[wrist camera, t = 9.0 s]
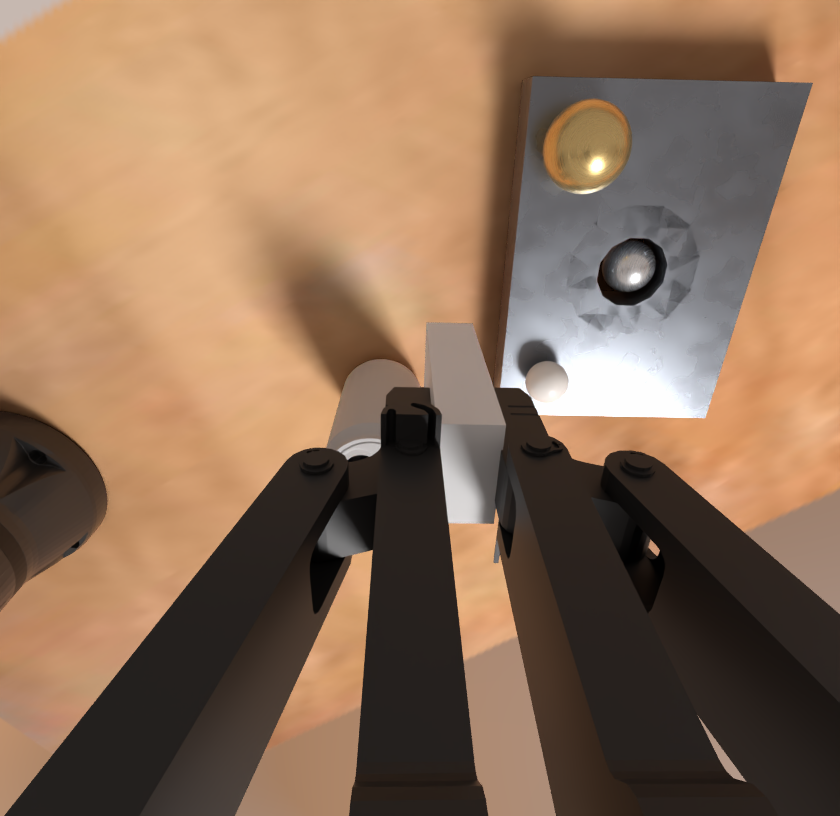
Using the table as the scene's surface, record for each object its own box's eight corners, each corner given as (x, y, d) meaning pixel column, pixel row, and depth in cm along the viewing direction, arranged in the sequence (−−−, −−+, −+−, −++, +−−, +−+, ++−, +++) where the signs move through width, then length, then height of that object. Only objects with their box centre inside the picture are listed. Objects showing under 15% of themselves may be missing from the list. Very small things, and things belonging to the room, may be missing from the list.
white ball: (520, 391, 40) (526, 410, 37) (524, 353, 38) (532, 371, 36) (559, 391, 40) (569, 411, 37) (566, 354, 38) (576, 372, 36)
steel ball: (657, 292, 38) (612, 281, 40) (670, 242, 36) (622, 233, 38) (634, 301, 36) (588, 289, 38) (647, 248, 34) (597, 239, 36)
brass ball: (530, 188, 33) (546, 198, 29) (540, 98, 31) (559, 95, 26) (607, 190, 33) (634, 200, 29) (623, 100, 31) (655, 98, 26)
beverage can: (366, 341, 42) (347, 416, 31) (436, 378, 43) (441, 462, 33) (331, 403, 44) (302, 491, 34) (398, 436, 46) (391, 530, 35)
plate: (492, 393, 44) (497, 413, 41) (522, 80, 33) (532, 76, 30) (685, 397, 44) (705, 418, 41) (776, 86, 33) (812, 82, 30)
